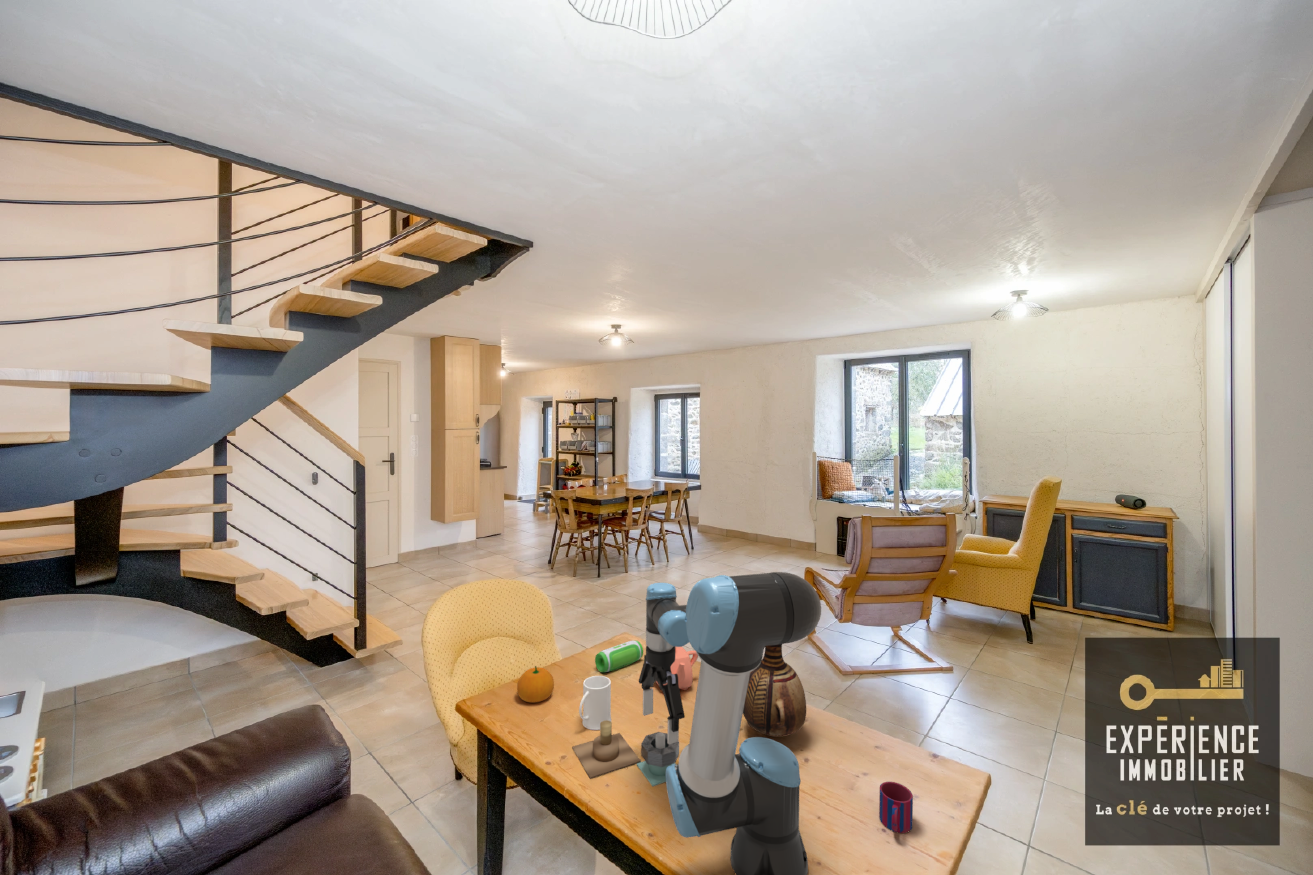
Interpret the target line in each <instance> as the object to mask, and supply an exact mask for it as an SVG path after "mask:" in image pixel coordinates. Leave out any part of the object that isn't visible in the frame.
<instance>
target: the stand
mask: <svg viewBox="0 0 1313 875" xmlns="http://www.w3.org/2000/svg"><path fill="white" fill-rule="evenodd" d="M664 733H665V732H662V733H657V734H656V748H658V749H663V748H665V734H664ZM673 764H675V765H677V763H676V762H675V763H673ZM671 765H672V764H670V765H667V766H664V767H659V766H654V765H649V764H647V763H646V761H645V760H644V761H641V762H640V763H637V764H636V766H637V768H638V770H640V772H641V773H642V774H643V776H644V777H645V778H646V780H647V782H648V783H649V784H650V786H652V788H653V787H656V786H658V785H661V784H664V783H666V769H667V767H668V766H671Z"/></svg>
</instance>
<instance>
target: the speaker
mask: <svg viewBox="0 0 1313 875" xmlns="http://www.w3.org/2000/svg"><path fill="white" fill-rule="evenodd" d="M643 655H644V648H643V645H642V643H641V642H640V641H638V640H629V641H626V642H623V643H620V644H617V645H615V646H612V647H608V648H606V649H604V650H601V651H599V652H598V653H596V655H595V656H594V663H595V666H596V669H597V671H598V672H600V673H609V672H613V671H616V670H619V669H622V668H624V667H627V666H630V665H632V664H633V663H635V662H637V661H639V660H640V659H641V658H642V657H643Z"/></svg>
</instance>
